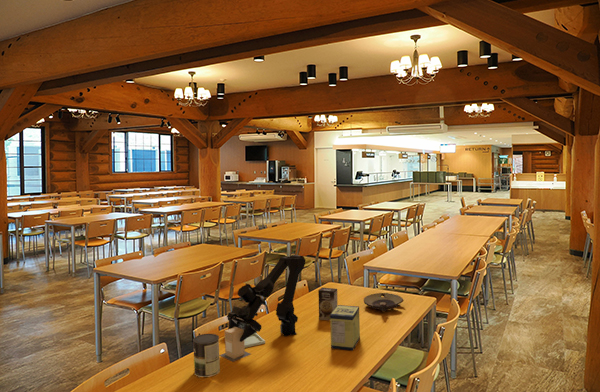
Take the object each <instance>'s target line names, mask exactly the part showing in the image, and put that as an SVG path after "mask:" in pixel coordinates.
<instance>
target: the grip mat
mask: <svg viewBox="0 0 600 392" xmlns="http://www.w3.org/2000/svg"><path fill="white" fill-rule="evenodd" d="M250 355H252V353H251V352H250V353H249V352H247V351H245V354H244V355H242V356H240V357H237V358H235V359H233V358H231V357H229V356H227V355H226V352H224V353H221V354H219V357H222V358H225V359H226V360H229V361H230V362H232V363H234V362H237V361H239V360H241V359H243V358H246V357H248V356H250Z"/></svg>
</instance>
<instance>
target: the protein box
mask: <svg viewBox="0 0 600 392" xmlns="http://www.w3.org/2000/svg"><path fill="white" fill-rule="evenodd" d="M329 321H330V348H331V349H334V350H335V349H336V350H343V351H354V350H355V348H356V346H357V344H358V343H359V340H360V339H361V325H360V306H355V305H345V304H344V305H342V304H337V307H336V308H335V310H334V311H333V312H332V313H331V315H330V320H329Z"/></svg>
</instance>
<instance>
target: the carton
mask: <svg viewBox="0 0 600 392" xmlns="http://www.w3.org/2000/svg"><path fill="white" fill-rule="evenodd" d="M243 333H244V330H243V329H240V328H237V327H234V328H231V329H228V328H227V329H225V330H224V345H225V347H224V348H225V352H224V353H226V355H227V356H229V357H231V358H233V359H235V358H237V357H240V356H242V355H244V354H245V352H246V348H245V344H244V341H242V342H240V338H241V336H242V334H243Z"/></svg>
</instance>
